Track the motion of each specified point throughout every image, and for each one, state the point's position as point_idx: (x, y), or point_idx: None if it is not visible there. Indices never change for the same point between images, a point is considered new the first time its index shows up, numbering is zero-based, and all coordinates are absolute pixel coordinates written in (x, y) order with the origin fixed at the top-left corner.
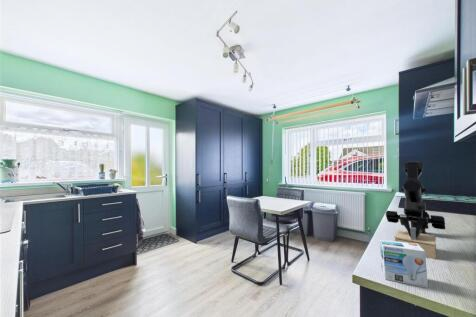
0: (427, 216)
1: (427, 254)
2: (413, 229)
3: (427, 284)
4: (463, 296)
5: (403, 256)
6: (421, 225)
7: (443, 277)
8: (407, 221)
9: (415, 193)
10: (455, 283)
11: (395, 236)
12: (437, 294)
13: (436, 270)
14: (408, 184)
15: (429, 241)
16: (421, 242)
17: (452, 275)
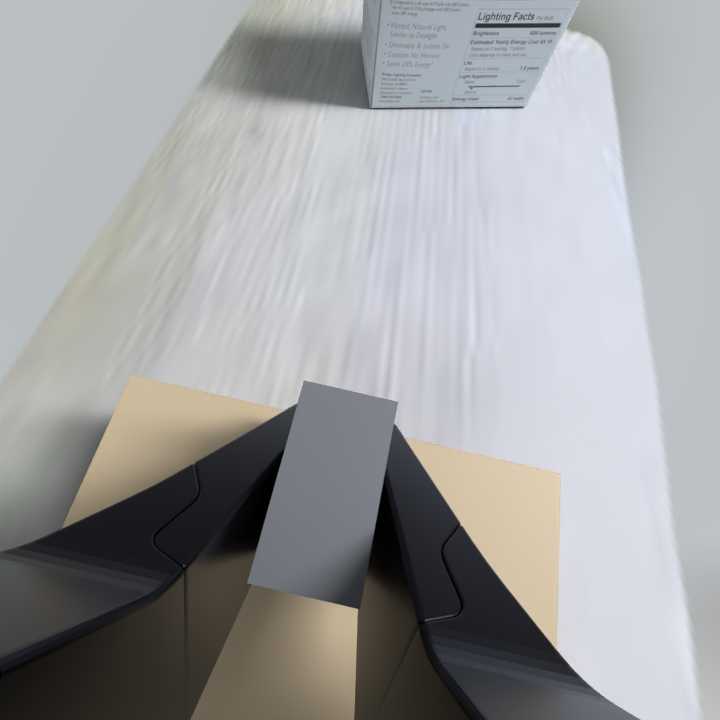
0: None
1: None
2: (336, 392)
3: (362, 26)
4: (256, 32)
5: None
6: (68, 539)
7: (268, 146)
8: (492, 690)
9: None
10: (238, 111)
11: (548, 487)
12: (340, 16)
13: (273, 213)
14: None
15: (159, 454)
16: (266, 407)
17: (212, 185)
